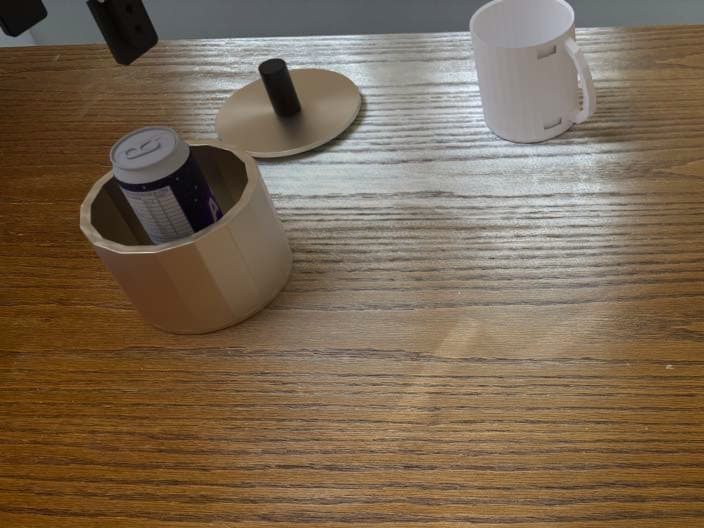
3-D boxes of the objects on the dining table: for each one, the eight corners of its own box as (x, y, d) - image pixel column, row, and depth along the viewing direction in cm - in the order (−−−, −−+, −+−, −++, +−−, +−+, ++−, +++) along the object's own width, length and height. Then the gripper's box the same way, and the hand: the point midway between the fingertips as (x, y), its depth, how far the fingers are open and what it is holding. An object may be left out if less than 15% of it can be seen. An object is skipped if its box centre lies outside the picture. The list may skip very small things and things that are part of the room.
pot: (99, 308, 68) (41, 226, 62) (205, 208, 75) (163, 125, 68) (224, 354, 64) (176, 272, 57) (324, 243, 71) (292, 159, 64)
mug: (465, 116, 80) (448, 21, 73) (539, 77, 83) (530, -18, 76) (544, 171, 74) (534, 74, 67) (621, 127, 77) (619, 29, 70)
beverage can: (254, 275, 68) (193, 150, 59) (187, 305, 67) (113, 181, 57) (233, 237, 71) (172, 113, 62) (168, 264, 70) (96, 141, 61)
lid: (189, 145, 81) (163, 93, 77) (277, 68, 89) (259, 16, 84) (306, 176, 77) (286, 123, 72) (389, 92, 84) (376, 38, 80)
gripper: (-280, -288, 41) (-56, 45, 54) (-39, -266, 35) (143, 99, 49) (-146, -332, 45) (31, -10, 58) (90, -318, 39) (225, 34, 53)
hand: (82, 39), depth 53 cm, fingers open, 9 cm apart
